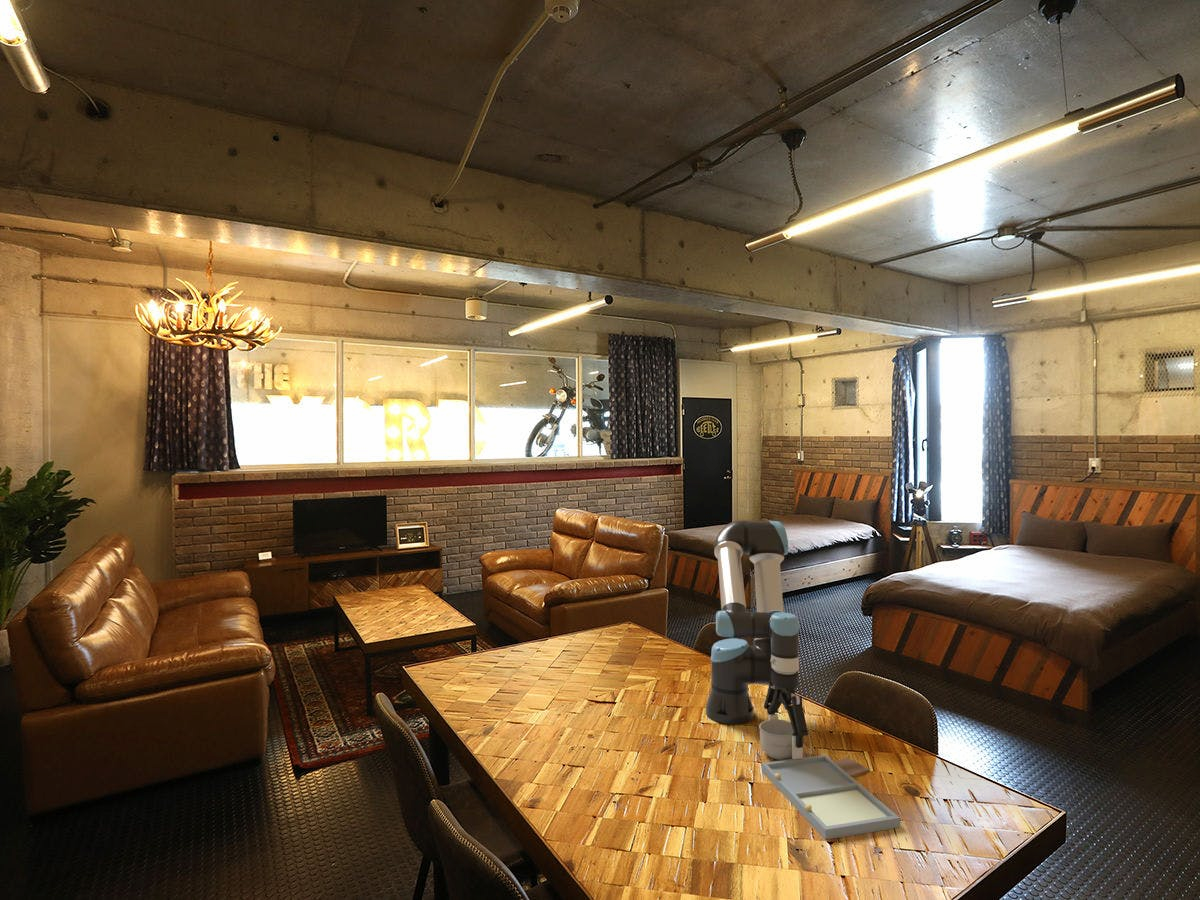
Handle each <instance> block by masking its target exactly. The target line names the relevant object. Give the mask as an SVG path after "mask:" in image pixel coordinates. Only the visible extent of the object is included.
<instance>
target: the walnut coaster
mask: <svg viewBox="0 0 1200 900" xmlns="http://www.w3.org/2000/svg"><path fill="white" fill-rule="evenodd" d="M833 762H835V763H836V764H837V765H838V766H839V767H841V768H842V769H843V770H844V771H845V772H846V773H848V774H849V775H850V776H851V777H852V778H854V777H857V776H860V775H863V774H864V775H865V774H866V773H869V772H870V768H868V767H866V766H864V765H863V764H860V763H859V762H858V761H855V760H854V759H852V758H850V757H849V756H848V757H845V758H841V759H838V760H834V761H833Z"/></svg>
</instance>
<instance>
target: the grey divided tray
mask: <svg viewBox="0 0 1200 900" xmlns="http://www.w3.org/2000/svg"><path fill="white" fill-rule="evenodd" d="M761 772H762V773H763V775H764V776H765V777H767V779H768V780H769V781H770V782H772V783H771V784H773V785H774V786H775V788H777V789H778V791H780V793H781V794H782V795H783V796H784V798H786V799H787V800H788V801H789V802H790V803H791V804H792V806H793V807H794V808H795V809H796V810H797V811H798V812H799V814H801V815H802V817H803V818H804V819H805V820H806V821H808V823H809V824H810V825H811V826H812V827H813V828H814V830H816V832H817V833H818V834H819V835H820V836H821V837H822V838H823V839H824V840H831V839H837V838H844V837H851V836H855V835H862V834H867V833H874V832H881V831H887V830H892V829H893V830H894V829H898V828H901V817H900V816H899V815H897V814H896V813H895V812H894V811H893V810H892V809H890V808H889V807H888V806H887V805H885V803H883V802H882V801H880V799H878V798H877V796H875V795H874V794H872V792H870V791H869V790H868V789H867V788H865V786H863V785H862V784H861V783H860V782H858V780H856V779H855V778H854V777H851V776H850V775H849V774H848V773H846V772H845V771H844V770H843V769H842V768H841V767H839V766H838V765H837V764H836V763H835V762H834V761H833V759H831V758H830V757H829V756H827V754H822V755H820V754H819V755H815V756H806V757H803V758H800V759H793V758H791V759H788V760H774V761H767V762H761Z"/></svg>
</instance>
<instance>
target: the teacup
mask: <svg viewBox="0 0 1200 900" xmlns="http://www.w3.org/2000/svg"><path fill="white" fill-rule="evenodd" d="M758 727H759V738H760V745H761V746H760V747H761V748H762V751H763V752H764V753H765V754H766V755H768V757H770V758H771V759H774V760H776V761H782V760H789V759H793V758H792V734H793V733H794V731H793V728H792V725H791V722H790V721H788V720H783V719H778V720H769V719H768V720H763V721H762V722H761V723H760V724H759V725H758Z"/></svg>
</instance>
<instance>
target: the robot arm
mask: <svg viewBox="0 0 1200 900" xmlns="http://www.w3.org/2000/svg"><path fill="white" fill-rule="evenodd" d="M714 540H715V541H714V545H713V551H714V556H715V558H716V559H717V566H718V578H719V593H720V594H719V595H720V608H721V610H718V611H716V612H715V632H716V634H717V636H719V637H723V638H725V639H722V640H718V641H716V642H714V643H713V645H712V646H711V652H710V653H711V656H710V662H711V665H710V666H711V669H710V670H711V671H710V672H711V673H710V674H711V676H710V677H711V678H710V679H711V680H710V683H711V685H710V687H711V688H710V692H709V694H708V697H707V700H706V704H705V715H706V716H707V717H708V718H709V717H710V720H713V721H715V722H718V723H721V724H726V725H727V724H728V725H741V724H747V723H749V722H751V721H752V720H753V719H754V717H755V716H754V715H755V713H754V712H755V711H754V706H753V703H752V700H751V696H750V693H749V685H751V684H752V685H768V689H767V693H766V696H765V701H764V704H763V709H764V710H766V712H767V714H768V720H779V713H780V712H779V709H780V707H781V705H783V707H784V710H786V711H787V715H788V718H789V722H791V725H792V728H793V731H794V733H793V734H792V758H791V759H800V758H804V757H803V756H804V755H803V753H804V752H803V749H804V748H803V746H804V737H805V736H808V735H809V731H808V727H807V726H808V725H807V721H806V716H805V711H804V707H803V697H802V695H796V691H795V689H796V688H797V687H798V686H799V683H800V674H799V673H800V672H799V670H800V662H799V661H800V659H799V658H800V655H799V654H800V653H799V631H800V626H799V618H798V616H797V615H796V614H794V613H790V612H784V602H783V601H784V600H783V587H782V574H781V563H782V562H783V561H784V560H785V556H786V555H788V554H789V540H788V534H787V530H786V528H785V525H784V524H783V523H782V522H781V521H778V520H777V521H776V520H768V519H767V520H734V521H730V523H728V524H726V525H725V526H723V528H722V529H720V530H719V532H718V533H717V536H716V538H715V539H714ZM743 555H748V557H749V558H748V559H749V561H750V562H751V563H753V566H754V569H753V570H754V582H755V584H754V586H755V601H756V604H755V605H756V611H747V603H746V595H745V593H746V592H745V587H744V586H745V585H744V577H743V576H744V575H743V568H742V560H741V558H742V556H743ZM743 638H745V639H743ZM747 638H748V639H749V638H751V639H753V645H749V643H748V641H747V640H746V639H747Z"/></svg>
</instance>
